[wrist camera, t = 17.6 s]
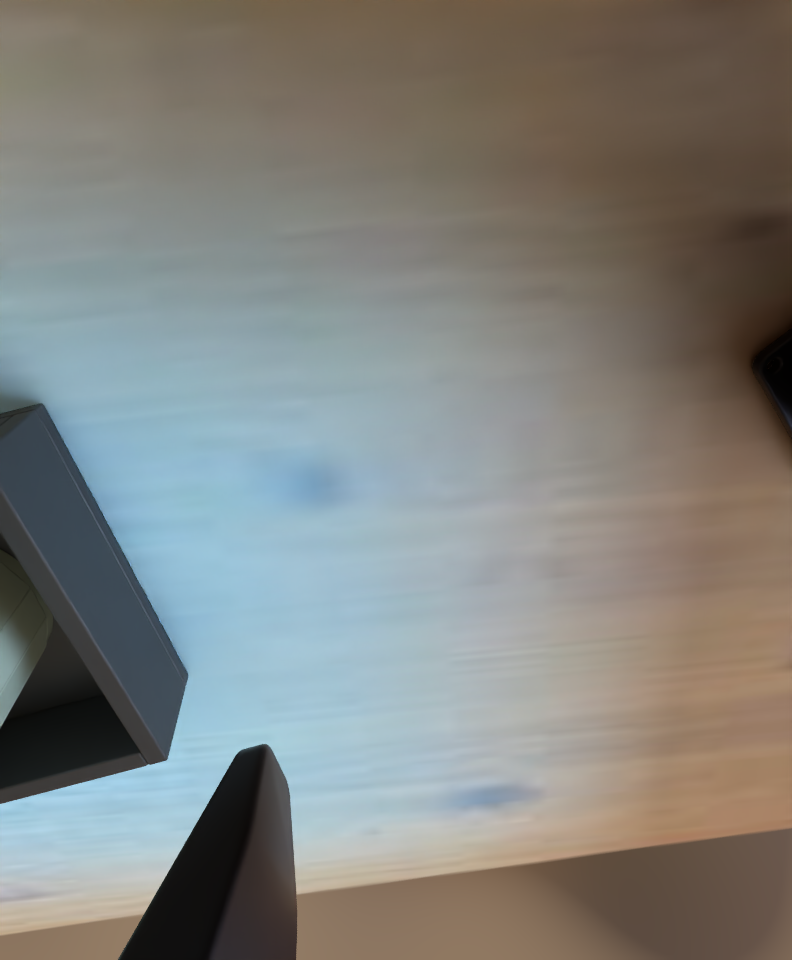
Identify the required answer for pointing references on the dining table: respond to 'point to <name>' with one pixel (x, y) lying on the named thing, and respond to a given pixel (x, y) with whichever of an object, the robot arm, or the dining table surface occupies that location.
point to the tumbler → (19, 630)
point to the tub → (78, 628)
